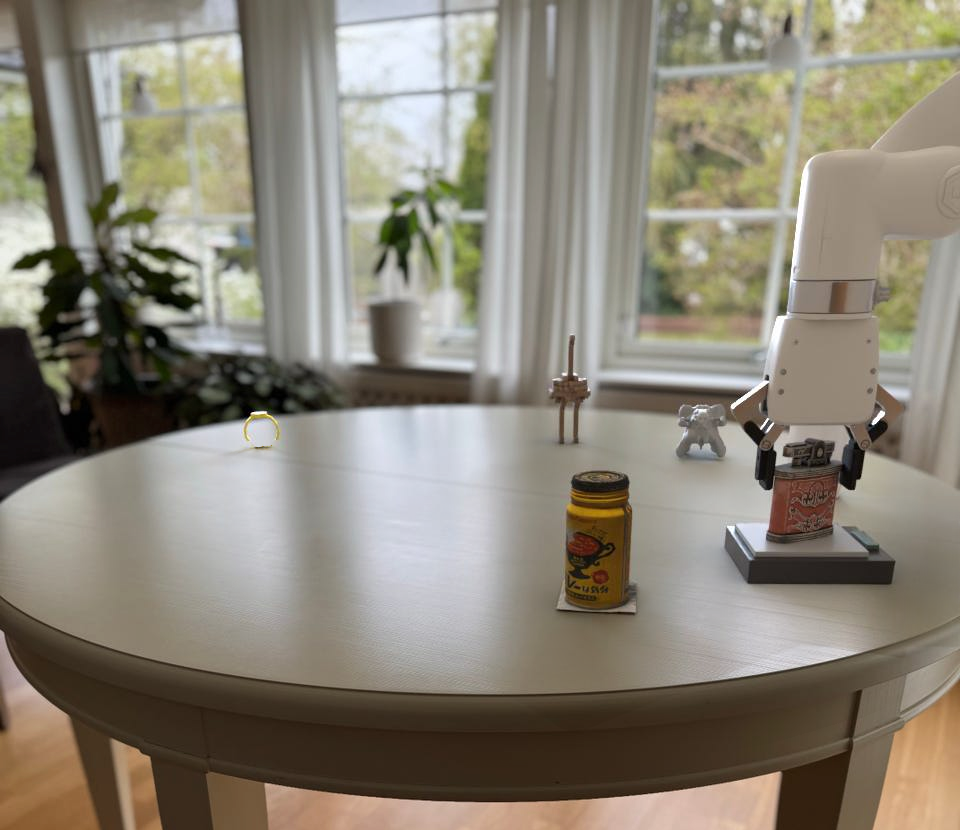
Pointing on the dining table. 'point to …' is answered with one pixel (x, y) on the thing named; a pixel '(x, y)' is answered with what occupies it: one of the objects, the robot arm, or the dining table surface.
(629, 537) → the condiment
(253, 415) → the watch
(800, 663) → the dining table surface
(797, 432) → the white cup
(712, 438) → the elephant statuette
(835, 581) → the scale
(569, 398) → the ostrich figurine
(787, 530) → the lighter
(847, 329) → the robot arm
